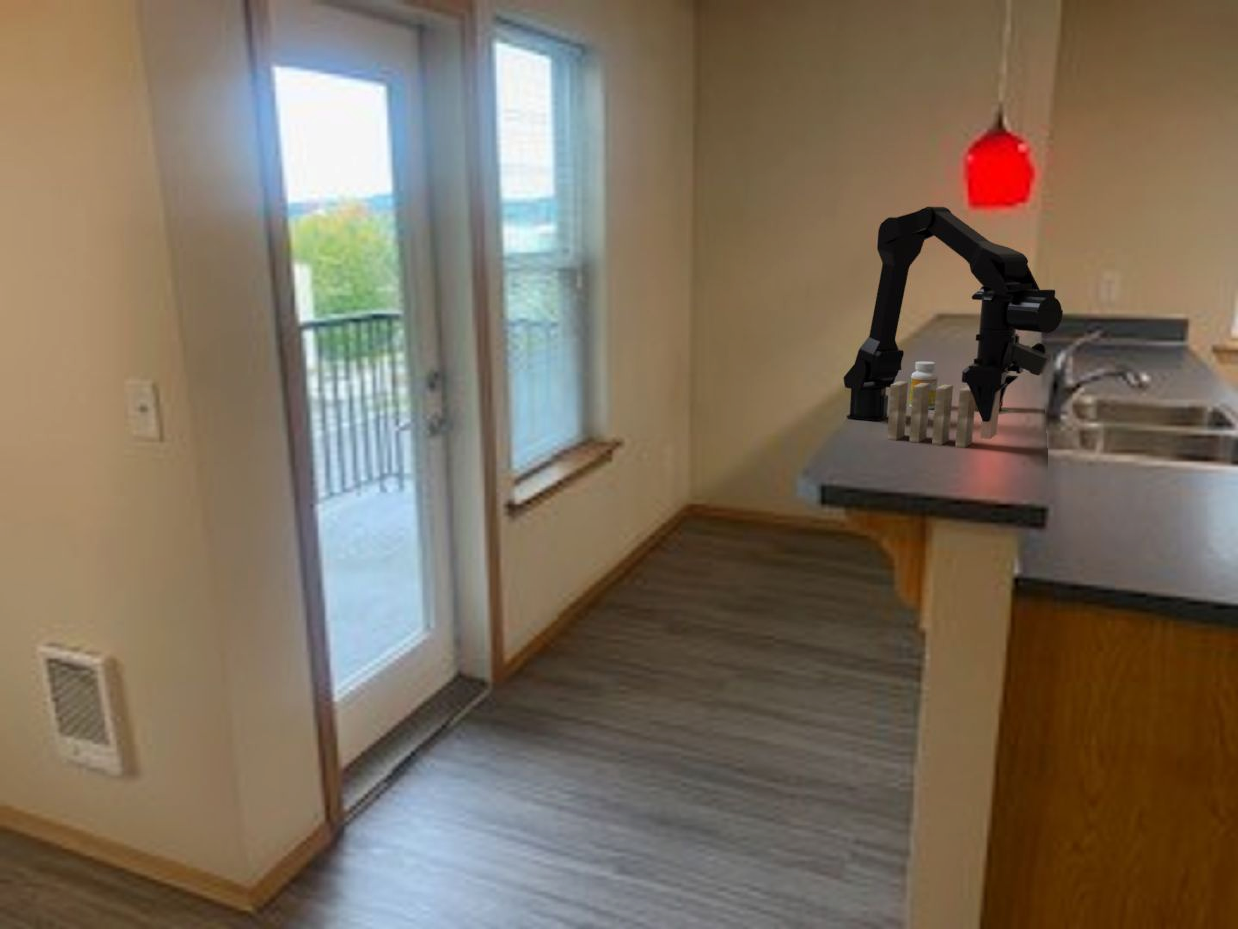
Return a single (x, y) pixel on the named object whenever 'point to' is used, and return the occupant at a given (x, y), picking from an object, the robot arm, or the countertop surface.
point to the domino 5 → (991, 421)
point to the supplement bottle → (925, 380)
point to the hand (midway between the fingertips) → (989, 419)
